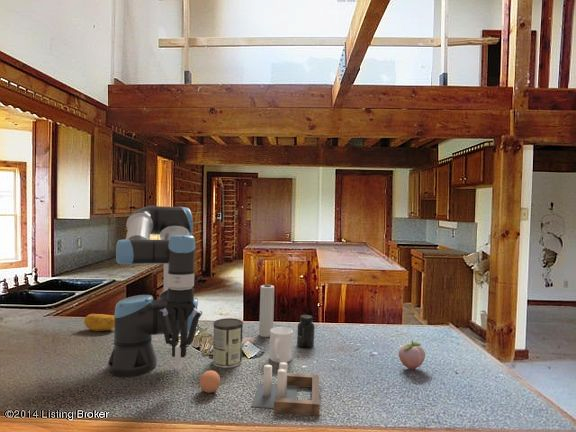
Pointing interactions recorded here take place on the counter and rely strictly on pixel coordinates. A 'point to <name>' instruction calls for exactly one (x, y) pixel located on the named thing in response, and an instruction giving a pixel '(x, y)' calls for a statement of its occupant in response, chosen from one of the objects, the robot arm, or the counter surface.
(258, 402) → the pin deck mark
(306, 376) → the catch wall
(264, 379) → the front pin
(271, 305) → the paper towel roll
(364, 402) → the counter surface
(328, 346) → the counter surface
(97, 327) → the potato
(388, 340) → the counter surface
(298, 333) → the supplement bottle
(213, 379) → the ball
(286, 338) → the mug
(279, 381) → the pin
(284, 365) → the pin
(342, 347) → the counter surface
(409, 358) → the decorative fruit
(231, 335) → the coffee can
